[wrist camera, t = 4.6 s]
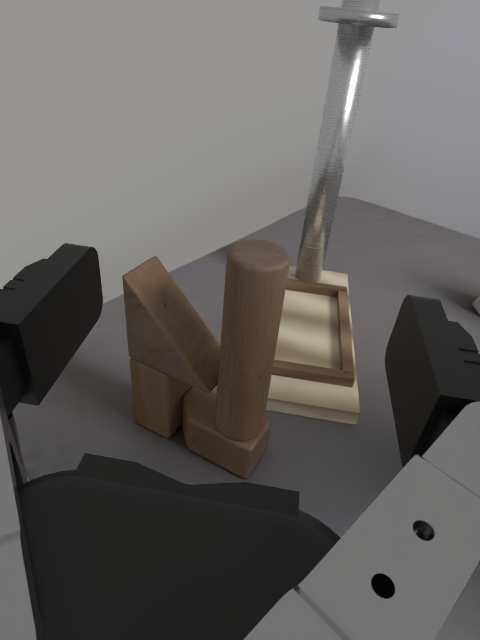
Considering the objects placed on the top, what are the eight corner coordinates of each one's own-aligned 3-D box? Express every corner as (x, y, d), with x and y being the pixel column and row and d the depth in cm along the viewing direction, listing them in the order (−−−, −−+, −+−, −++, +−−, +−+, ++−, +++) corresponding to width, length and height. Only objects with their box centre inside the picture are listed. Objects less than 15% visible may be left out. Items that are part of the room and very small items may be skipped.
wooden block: (159, 396, 40) (152, 202, 30) (268, 449, 37) (304, 249, 26) (132, 423, 38) (114, 220, 27) (246, 483, 34) (277, 275, 23)
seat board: (356, 424, 40) (363, 404, 38) (242, 406, 40) (244, 385, 39) (344, 283, 59) (348, 267, 57) (268, 272, 60) (270, 255, 58)
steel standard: (333, 305, 55) (412, -15, 36) (276, 297, 55) (324, -24, 37) (332, 276, 60) (399, -14, 42) (280, 268, 61) (324, -21, 42)
